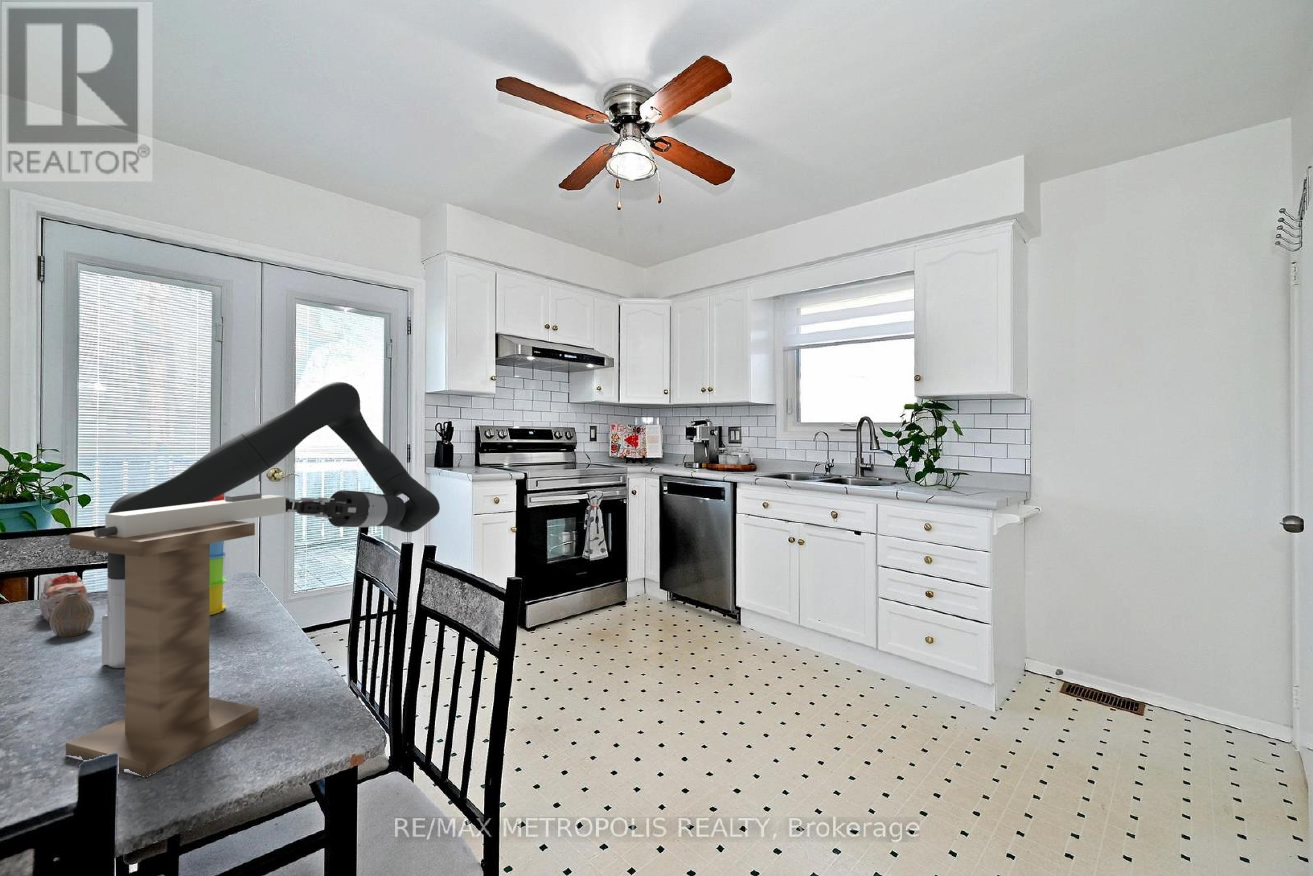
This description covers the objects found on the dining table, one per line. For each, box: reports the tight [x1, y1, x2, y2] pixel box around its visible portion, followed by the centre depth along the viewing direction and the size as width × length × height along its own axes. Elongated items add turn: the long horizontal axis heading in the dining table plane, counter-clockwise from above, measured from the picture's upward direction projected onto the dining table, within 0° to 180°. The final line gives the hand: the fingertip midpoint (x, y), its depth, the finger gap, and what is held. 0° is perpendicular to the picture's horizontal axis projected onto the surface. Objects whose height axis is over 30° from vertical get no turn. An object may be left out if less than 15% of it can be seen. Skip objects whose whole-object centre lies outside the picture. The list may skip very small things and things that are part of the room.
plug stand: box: [65, 520, 259, 777], centre depth 86 cm, size 16×16×32 cm
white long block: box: [93, 492, 287, 538], centre depth 90 cm, size 26×4×4 cm, turn 162°
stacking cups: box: [208, 493, 227, 616], centre depth 140 cm, size 10×10×35 cm
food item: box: [39, 573, 88, 623], centre depth 136 cm, size 14×8×10 cm, turn 51°
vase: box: [49, 593, 95, 638], centre depth 126 cm, size 7×7×9 cm
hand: (282, 505), depth 106 cm, fingers open, 8 cm apart
